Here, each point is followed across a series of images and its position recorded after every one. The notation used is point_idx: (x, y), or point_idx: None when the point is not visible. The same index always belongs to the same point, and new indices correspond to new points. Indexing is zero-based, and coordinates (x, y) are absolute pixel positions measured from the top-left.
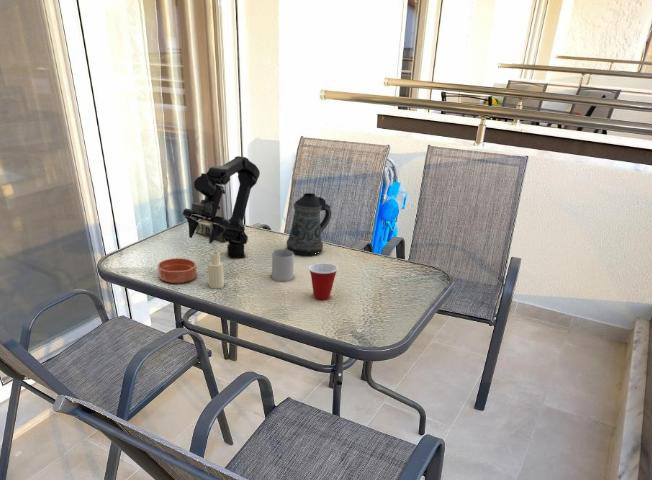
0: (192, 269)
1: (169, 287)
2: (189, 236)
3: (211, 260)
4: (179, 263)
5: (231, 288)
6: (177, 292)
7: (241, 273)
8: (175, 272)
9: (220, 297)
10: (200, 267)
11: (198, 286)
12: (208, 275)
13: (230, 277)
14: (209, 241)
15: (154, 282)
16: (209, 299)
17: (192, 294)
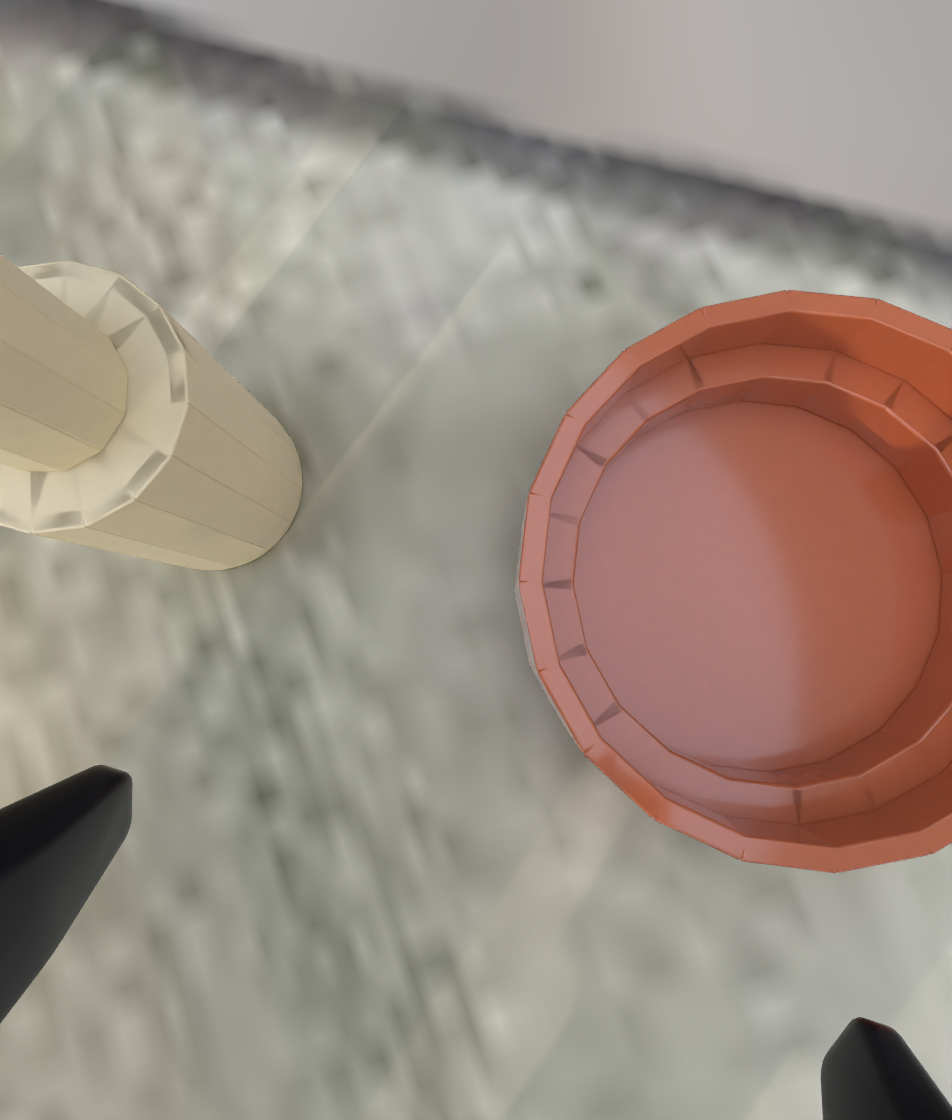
0: (526, 502)
1: (706, 278)
2: (894, 1037)
3: (57, 298)
4: (858, 814)
5: None
6: (566, 186)
7: None
8: (706, 306)
9: (84, 209)
10: (603, 989)
11: (406, 402)
12: (242, 390)
13: None
14: (89, 779)
15: None
16: (181, 131)
17: (393, 188)
